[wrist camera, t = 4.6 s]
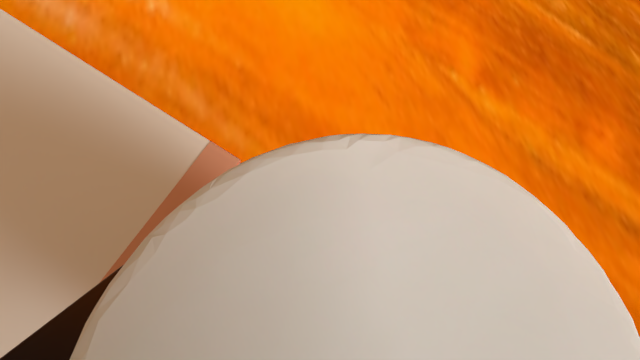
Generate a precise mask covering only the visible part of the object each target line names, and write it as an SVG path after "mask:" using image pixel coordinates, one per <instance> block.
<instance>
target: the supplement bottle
mask: <svg viewBox="0 0 640 360" xmlns="http://www.w3.org/2000/svg"><path fill="white" fill-rule="evenodd" d="M70 360H640V337H639V335H638V332H637V330H636V327H635V324H634V322H633V319H632V317H631V316H630V314H629V312H628V310H627V309H626V307H625V305H624V303H623V301H622V300H621V298H620V296H619V295H618V293H617V292H616V290H615V289H614V287H613V286H612V284H611V282H610V281H609V279H608V277H607V276H606V274H605V272H604V270H603V269H602V268H601V266H600V265H599V264H598V262H597V261H596V260H595V258H594V257H593V256H592V255H591V253H590V252H589V251H588V250H587V249H586V247H585V246H584V245H583V244H582V243H581V242H580V241H579V240H578V239H577V238H576V237H575V235H574V234H573V233H572V232H571V231H570V229H569V228H568V227H567V226H566V224H564V223H563V222H562V221H561V220H560V219H559V218H558V217H557V216H556V215H555V214H554V213H553V212H552V211H551V210H549V209H548V208H547V207H546V206H545V205H544V204H543V203H541V202H540V201H539V200H538V199H537V198H536V197H535V196H533V195H532V194H531V193H529V192H528V191H527V190H525V189H524V188H523V187H521V186H520V185H518V184H517V183H516V182H514V181H513V180H511V179H510V178H509V177H507V176H506V175H504V174H502V173H501V172H499V171H497V170H495V169H493V168H492V167H490V166H488V165H486V164H484V163H482V162H480V161H478V160H476V159H474V158H472V157H469V156H467V155H465V154H463V153H460V152H458V151H455V150H453V149H450V148H447V147H444V146H441V145H438V144H435V143H431V142H427V141H422V140H418V139H413V138H408V137H401V136H395V135H380V134H344V135H333V136H326V137H321V138H316V139H312V140H307V141H302V142H298V143H293V144H289V145H286V146H283V147H280V148H278V149H275V150H272V151H269V152H267V153H264V154H261V155H259V156H256V157H253V158H251V159H249V160H247V161H245V162H243V163H241V164H239V165H237V166H235V167H233V168H231V169H229V170H227V171H225V172H224V173H223V174H221V175H220V176H218V177H217V178H215V179H214V180H212V181H211V182H209V183H208V184H206V185H205V186H203V187H202V188H200V189H199V190H198V191H197V192H195V193H194V194H193V195H192V196H190V197H189V198H188V199H187V200H185V201H184V202H183V203H182V204H181V205H179V206H178V207H177V208H176V209H174V210H173V211H172V212H171V213H170V214H169V215H167V216H166V217H165V218H164V219H163V220H162V221H161V222H160V223H159V224H158V225H157V226H156V227H155V228H154V229H153V230H152V231H151V232H150V233H149V234H148V236H147V237H146V238H145V239H144V240H143V241H142V242H141V244H140V245H139V246H138V247H137V249H136V250H135V251H134V252H133V254H132V255H131V256H130V258H129V259H128V260H127V261H126V263H125V264H124V265H123V267H122V268H121V269H120V270H119V272H118V273H117V274H116V276H115V277H114V278H113V279H112V281H111V282H110V283H109V285H108V287H107V288H106V290H105V291H104V293H103V295H102V296H101V298H100V299H99V301H98V303H97V304H96V306H95V308H94V309H93V311H92V313H91V314H90V316H89V318H88V320H87V322H86V323H85V326H84V328H83V330H82V332H81V335H80V337H79V339H78V342H77V344H76V346H75V348H74V351H73V353H72V355H71V358H70Z"/></svg>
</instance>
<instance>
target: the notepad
mask: <svg viewBox="0 0 640 360" xmlns="http://www.w3.org/2000/svg"><path fill="white" fill-rule="evenodd" d="M239 164H240V159H238V158H237V157H235V156H233V155H232V154H230V153H229V152H227V151H225V150H224V149H222V148H221V147H219V146H218V145H216V144H214V143H213V142H211V141H209V140H208V139H206V138H204V137H203V136H201V135H200V134H198V133H196V132H195V131H193V130H192V129H190V128H189V127H187V126H185V125H184V124H182V123H181V122H179V121H177V120H176V119H174V118H173V117H171V116H169V115H168V114H166V113H165V112H163V111H162V110H160V109H158V108H157V107H155V106H154V105H152V104H150V103H149V102H147V101H146V100H144V99H143V98H141V97H139V96H138V95H136V94H135V93H133V92H131V91H130V90H128V89H127V88H125V87H123V86H122V85H120V84H119V83H117V82H116V81H114V80H112V79H111V78H109V77H108V76H106V75H104V74H103V73H101V72H100V71H98V70H97V69H95V68H93V67H92V66H90V65H89V64H87V63H85V62H84V61H82V60H81V59H79V58H77V57H76V56H74V55H73V54H71V53H70V52H68V51H66V50H65V49H63V48H62V47H60V46H58V45H57V44H55V43H54V42H52V41H50V40H49V39H47V38H46V37H44V36H43V35H41V34H39V33H38V32H36V31H35V30H33V29H31V28H30V27H28V26H27V25H25V24H24V23H22V22H20V21H19V20H17V19H16V18H14V17H12V16H11V15H9V14H8V13H6V12H4V11H3V10H1V9H0V358H1V357H2V356H4V355H5V354H6V353H8V352H9V351H10V350H12V349H13V348H14V347H16V346H17V345H18V344H20V343H21V342H22V341H24V340H25V339H26V338H28V337H29V336H30V335H31V334H33V333H34V332H35V331H37V330H38V329H39V328H41V327H42V326H43V325H45V324H46V323H47V322H49V321H50V320H51V319H53V318H54V317H55V316H56V315H58V314H59V313H60V312H62V311H63V310H64V309H66V308H67V307H68V306H70V305H71V304H72V303H74V302H75V301H76V300H78V299H79V298H80V297H81V296H83V295H84V294H85V293H87V292H88V291H89V290H91V289H92V288H93V287H95V286H96V285H97V284H99V283H100V282H101V281H103V280H104V279H105V278H106V277H108V276H109V275H110V274H112V273H113V272H114V271H116V270H117V269H118V268H120V267H121V266H122V265H124V264H125V263H126V261H127V260H128V259H129V258H130V256H131V255H132V254H133V252H134V251H135V250H136V249H137V247H138V246H139V245H140V244H141V242H142V241H143V240H144V239H145V238H146V237H147V236H148V234H149V233H150V232H151V231H152V230H153V229H154V228H155V227H156V226H157V225H158V224H159V223H160V222H161V221H162V220H163V219H164V218H165V217H166V216H167V215H169V214H170V213H171V212H172V211H173V210H174V209H176V208H177V207H178V206H179V205H181V204H182V203H183V202H184V201H185V200H187V199H188V198H189V197H190V196H192V195H193V194H194V193H195V192H197V191H198V190H199V189H200V188H202V187H203V186H205V185H206V184H208V183H209V182H211V181H212V180H214V179H215V178H217V177H218V176H220V175H221V174H223V173H224V172H225V171H227V170H229V169H231V168H233V167H235V166H237V165H239Z"/></svg>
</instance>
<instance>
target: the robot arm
mask: <svg viewBox="0 0 640 360" xmlns="http://www.w3.org/2000/svg"><path fill="white" fill-rule="evenodd" d="M122 267H123V265H122V266H121V267H120V268H118V269H117V270H116V271H114V272H113V273H112V274H110V275H109V276H108V277H106V278H105V279H104V280H103V281H101V282H100V283H99V284H97V285H96V286H95V287H93V288H92V289H91V290H89V291H88V292H87V293H85V294H84V295H83V296H81V297H80V298H79V299H78V300H76V301H75V302H74V303H72V304H71V305H70V306H68V307H67V308H66V309H64V310H63V311H62V312H60V313H59V314H58V315H56V316H55V317H54V318H53V319H51V320H50V321H49V322H47V323H46V324H45V325H43V326H42V327H41V328H39V329H38V330H37V331H35V332H34V333H33V334H31V335H30V336H29V337H28V338H26V339H25V340H24V341H22V342H21V343H20V344H18V345H17V346H16V347H14V348H13V349H12V350H10V351H9V352H8V353H6V354H5V355H4V356H2V357H1V358H0V360H70V358H71V355H72V353H73V351H74V348H75V346H76V344H77V342H78V339H79V337H80V335H81V332H82V330H83V328H84V326H85V323H86V322H87V320H88V318H89V316H90V314H91V313H92V311H93V309H94V308H95V306H96V304H97V303H98V301H99V299H100V298H101V296H102V295H103V293H104V291H105V290H106V288H107V287H108V285H109V283H110V282H111V281H112V279H113V278H114V277H115V276H116V274H117V273H118V272H119V270H120V269H121V268H122Z"/></svg>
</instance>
